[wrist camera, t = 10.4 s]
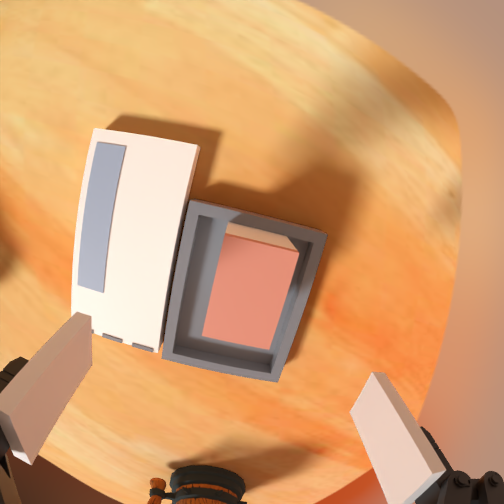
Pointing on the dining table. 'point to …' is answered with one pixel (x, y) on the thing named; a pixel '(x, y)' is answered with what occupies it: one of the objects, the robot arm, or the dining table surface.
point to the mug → (199, 486)
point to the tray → (201, 282)
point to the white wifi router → (130, 233)
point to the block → (250, 286)
